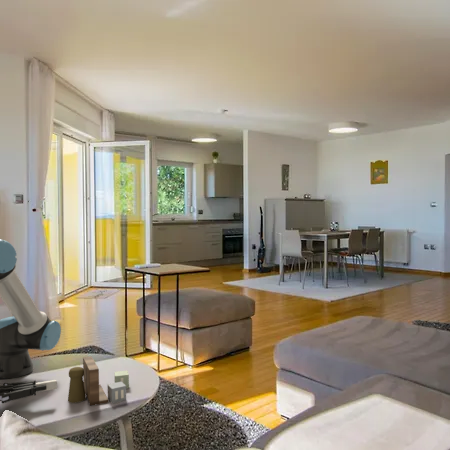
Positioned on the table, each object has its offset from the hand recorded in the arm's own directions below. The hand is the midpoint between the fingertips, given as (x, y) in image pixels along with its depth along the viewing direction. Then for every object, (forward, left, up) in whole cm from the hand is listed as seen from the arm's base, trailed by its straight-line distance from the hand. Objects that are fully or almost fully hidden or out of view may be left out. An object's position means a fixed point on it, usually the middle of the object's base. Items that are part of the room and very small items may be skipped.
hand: (56, 384), depth 153 cm
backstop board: (0, +13, -7) cm, 14 cm away
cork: (0, +7, -7) cm, 9 cm away
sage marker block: (-5, +23, -2) cm, 24 cm away
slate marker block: (+6, +17, -4) cm, 18 cm away
